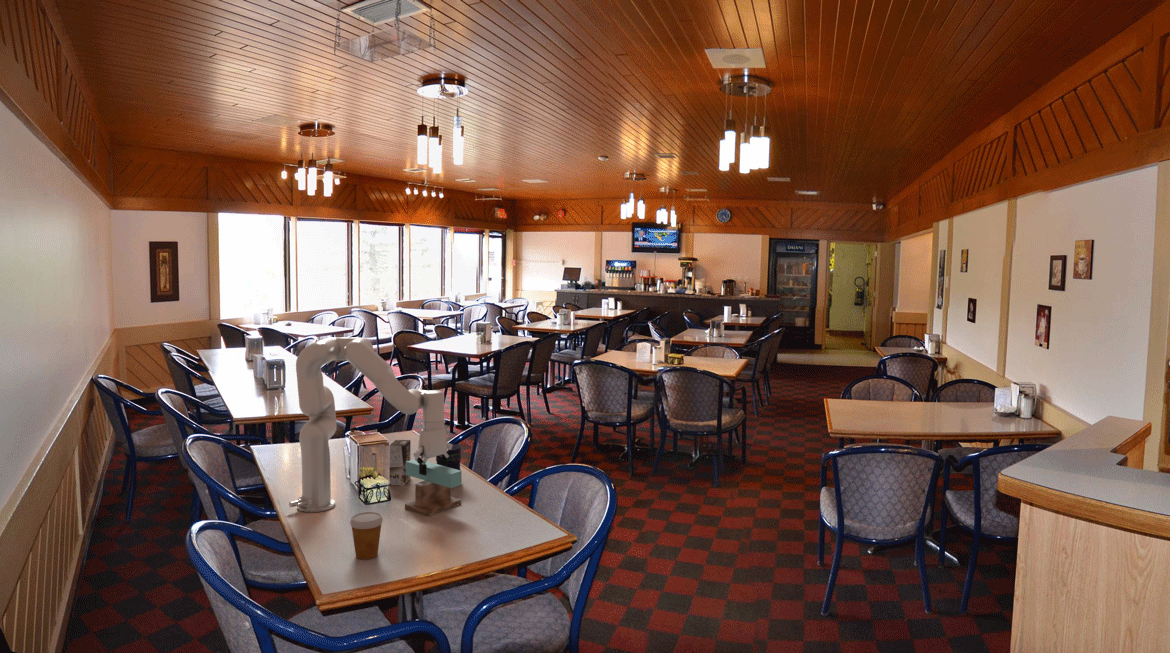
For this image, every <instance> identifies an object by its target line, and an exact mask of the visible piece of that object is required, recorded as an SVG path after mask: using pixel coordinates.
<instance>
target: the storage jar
mask: <svg viewBox="0 0 1170 653" xmlns="http://www.w3.org/2000/svg"><path fill="white" fill-rule="evenodd" d="M451 444H452V445H453V446H452V449H451V452H450V454H449V457H448V458H447V467H449V468H453V469H456V470H460V471H462V469H461V460H462V449H461V448H462V446H461V445H460V444H456V443H451ZM440 457H442V456H441V455H439V456H436V457H435V461H436V464H438V465H440Z"/></svg>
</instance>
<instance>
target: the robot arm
mask: <svg viewBox="0 0 1170 653" xmlns="http://www.w3.org/2000/svg"><path fill="white" fill-rule="evenodd" d="M333 361H347V362H348V363H349V364H350V365H351V366H353V367H354V368H355V369H356V370H357V371H359V372H360V373H361V374H362V375H363V376H364V377H366V379H368V380H369V381H370V382H371V383H372V384H373V385H374V387H375V388H376V389H377V391H378V392H379V393H380V394H381V395H382V397H384V399H385V400H386V401H387V402H388V403H390V405H392V406H393V407H394V408H395V409H396V410H398V411H399V412H401V413H402V414H404V415H408V416H409V415H413V414H415V413H416V412H418V411H419V410H420V409H422V428H421V429H420V433H419V438H418V449H417V450H416V451H415V452H414V453H413V454H412V456H413V457H414V459H415V460H416V461H417V462H418V463H419V474H421V475H424V476H425V475H426V474H427V465H426V464H425V463H426V461H427V462H428V460H429V459H432V458H436V456H439V455H441V456H442V457H440V465H442V466H446V467H447V458H448V457H449V454H450V452H451V449H452V446H453V445H452V444H453V443H449V442H448V437H447V431H446V427H445V423H446V419H445V393H444V392H443V391H442V390H440V389H439V390H438V389H432V390H430V389H428V390H426V389H417V388H410V389H407V388H406V387H405V386H404V385H403V384H402V383H401V382H400V381H399V380H398V379H397V377H396V375H395V373H394V370H393V367H392V366H391V364H389V363H388V362H387V361H386V360H385V359H384V358H382V357H381V356H380V355H379V354H378V353H377V352H376V351H374V346H373V344H372V342H371V341H370V340H369V339H367V338H366V337H325V338H322V339H319V340H316V341H314V342H312V343H310V344H309V345H307V346H306V347H304V348H303V349H301V351H300V352H299V354H298V355H297V358H296V360H295V370H296V371H295V372H296V382H297V383H296V384H297V392H298V403H299V409H300V411H301V413H302V414H303V415H305V416H307V417H309V418H308V419H309V420H308V421H307V422H305V423H304V425H302V427H301V429H300V430H299V431H300V432H299V438H298V440H299V447H300V453H301V454H300V455H301V458H300V459H301V491H302V493H301V495H299V497H298V498H297V500H294V501H289V504H288V506H289V508H294V507H295V508H296V507H297V510H299V511H300V512H303V511H304V513H319V512H324V511H329V510H330V509H333V508H334V507H335V506H336V500H335V499H333V498H332V497H331V491H332V490H331V485H332V484H331V480H332V479H331V451H330V444H329V440H330V439H331V438H332V437H333V436H334V435H335V433H336V431H337V426H338V425H337V423H338V422H337V413H336V405H335V404H336V403H335V396H334V394H333V391H332V390H331V389H330V388H329V387H328V386H326V385H324V375H323V372H322V367H323V366H324V365H326V364H328V363H331V362H333Z"/></svg>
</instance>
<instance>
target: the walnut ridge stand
mask: <svg viewBox="0 0 1170 653" xmlns="http://www.w3.org/2000/svg"><path fill="white" fill-rule="evenodd" d="M414 489H415V491H414V492H415V493H414V494H415V495H414V496H415V498H414V500H413V501H410V502H407V503H404V509H406V510H409V511H411V512H415V513H418V514H420V515H423V516H425V517H428V515H429V516H431V515H430V514H432V515H434V514H437V513H439V512H438V511H440V512H442V511H441V510H443V511H445V510H444V509H446V510H448V509H450V508H449V507H451V508H453V507H452V506H454V505H457V504H459V505H461V504H462V499H460V498H457V497H454V496H452V495H451V492H452V488H449V487H445V486H442V485H439V484H435V483H432V482H429V481H425V480H422V481H419V482H416V483H415V484H414ZM460 503H461V504H460ZM457 506H458V505H457ZM454 507H455V506H454ZM447 508H448V509H447ZM436 512H437V513H436ZM433 513H434V514H433Z"/></svg>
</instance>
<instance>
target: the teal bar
mask: <svg viewBox="0 0 1170 653" xmlns="http://www.w3.org/2000/svg"><path fill="white" fill-rule="evenodd" d="M425 464H426V465H427V474H426V475H425V476H424V475H421V474H419V463H418V462H417V461H416V460H415V458H414V459H410V461H406V475H408V476H411V477H412V478H416V479H418V480H422V481H429V482H432V483H435V484H439V485H442V486H445V487H449V488H451V489H452V488H453V489H454V488H456V487H458V486H461V485H462V470H461V471H460V470H456V469H453V468H449V467H446V466H442V465H438V464H437V463H434V462H430V461H428V460H427V461H426V463H425Z"/></svg>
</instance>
